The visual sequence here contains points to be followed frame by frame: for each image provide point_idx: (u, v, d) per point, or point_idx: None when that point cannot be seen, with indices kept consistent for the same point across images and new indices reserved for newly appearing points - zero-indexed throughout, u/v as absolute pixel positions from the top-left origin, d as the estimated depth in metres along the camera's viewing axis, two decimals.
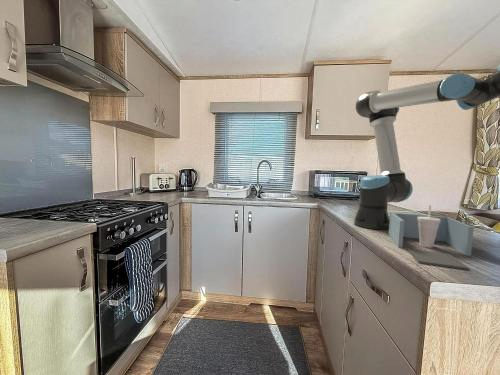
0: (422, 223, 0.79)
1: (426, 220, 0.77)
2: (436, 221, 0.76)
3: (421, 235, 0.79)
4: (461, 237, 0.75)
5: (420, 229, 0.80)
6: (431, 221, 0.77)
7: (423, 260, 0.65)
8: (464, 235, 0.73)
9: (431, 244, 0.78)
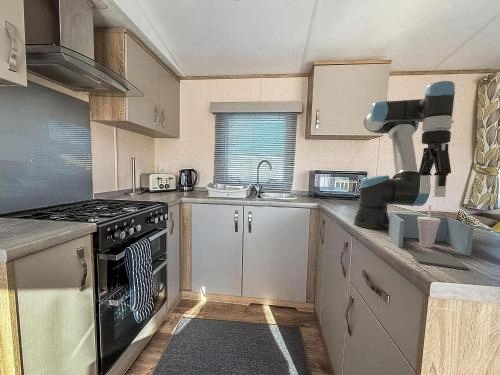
0: (422, 223, 0.79)
1: (426, 220, 0.77)
2: (436, 221, 0.76)
3: (421, 235, 0.79)
4: (461, 237, 0.75)
5: (420, 229, 0.80)
6: (431, 221, 0.77)
7: (423, 260, 0.65)
8: (464, 235, 0.73)
9: (431, 244, 0.78)
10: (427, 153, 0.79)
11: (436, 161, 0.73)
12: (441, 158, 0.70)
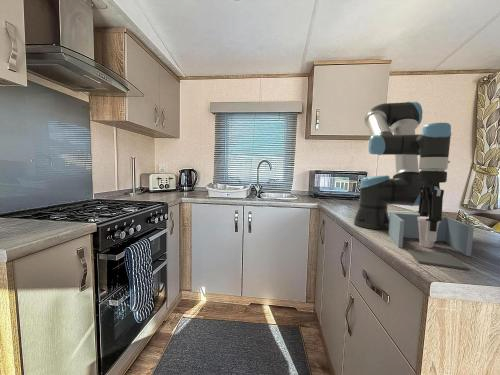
0: (422, 223, 0.79)
1: None
2: None
3: (421, 235, 0.79)
4: (461, 237, 0.75)
5: (420, 229, 0.80)
6: None
7: (423, 260, 0.65)
8: (464, 235, 0.73)
9: (431, 244, 0.78)
10: (424, 190, 0.80)
11: (430, 205, 0.76)
12: (434, 205, 0.73)
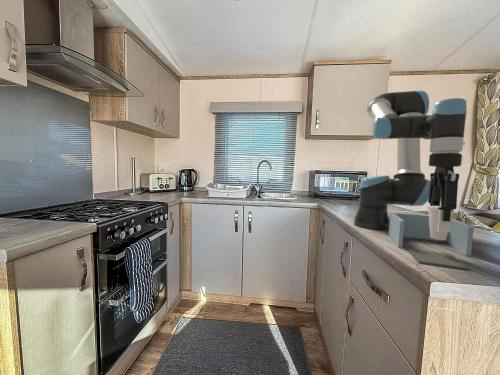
0: (433, 213, 0.70)
1: (438, 209, 0.69)
2: None
3: (433, 227, 0.71)
4: (461, 237, 0.75)
5: (431, 219, 0.71)
6: None
7: (423, 260, 0.65)
8: (464, 235, 0.73)
9: (444, 236, 0.69)
10: (435, 176, 0.71)
11: (442, 192, 0.67)
12: (448, 191, 0.64)
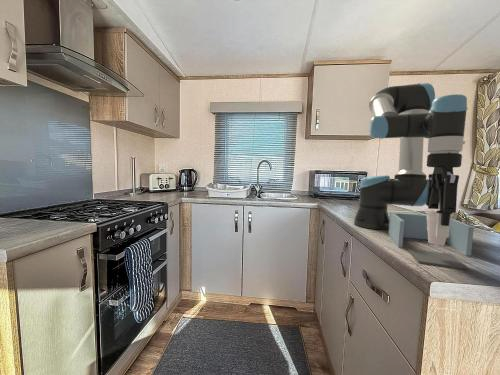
0: (431, 216, 0.66)
1: (436, 212, 0.65)
2: None
3: (431, 231, 0.67)
4: (461, 237, 0.75)
5: (429, 223, 0.67)
6: None
7: (423, 260, 0.65)
8: (464, 235, 0.73)
9: (442, 241, 0.65)
10: (434, 178, 0.67)
11: (441, 194, 0.63)
12: (447, 194, 0.60)
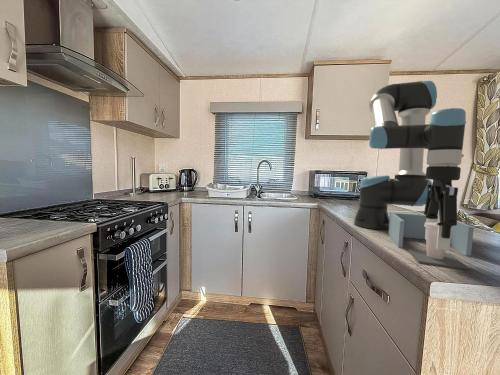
0: (430, 230, 0.67)
1: (435, 226, 0.65)
2: None
3: (429, 245, 0.67)
4: (461, 237, 0.75)
5: (428, 237, 0.67)
6: None
7: (423, 260, 0.65)
8: (464, 235, 0.73)
9: (441, 255, 0.66)
10: (432, 190, 0.68)
11: (441, 206, 0.63)
12: (447, 206, 0.60)
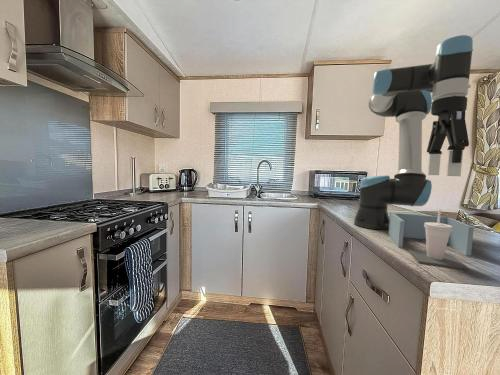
0: (430, 231, 0.66)
1: (435, 227, 0.65)
2: (447, 228, 0.64)
3: (429, 245, 0.67)
4: (461, 237, 0.75)
5: (428, 237, 0.67)
6: (441, 228, 0.64)
7: (423, 260, 0.65)
8: (464, 235, 0.73)
9: (441, 255, 0.66)
10: (438, 126, 0.66)
11: (449, 133, 0.60)
12: (456, 128, 0.58)
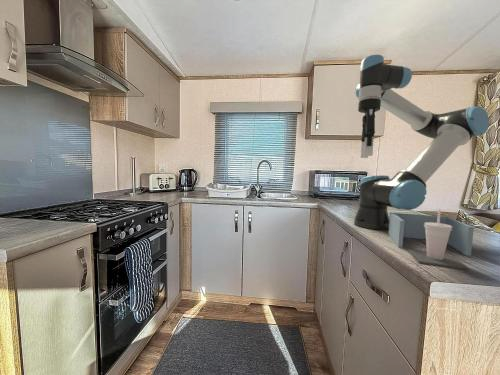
0: (430, 231, 0.66)
1: (435, 227, 0.65)
2: (447, 228, 0.64)
3: (429, 245, 0.67)
4: (461, 237, 0.75)
5: (428, 237, 0.67)
6: (441, 228, 0.64)
7: (423, 260, 0.65)
8: (464, 235, 0.73)
9: (441, 255, 0.66)
10: (363, 120, 0.90)
11: (366, 125, 0.84)
12: (368, 121, 0.81)
